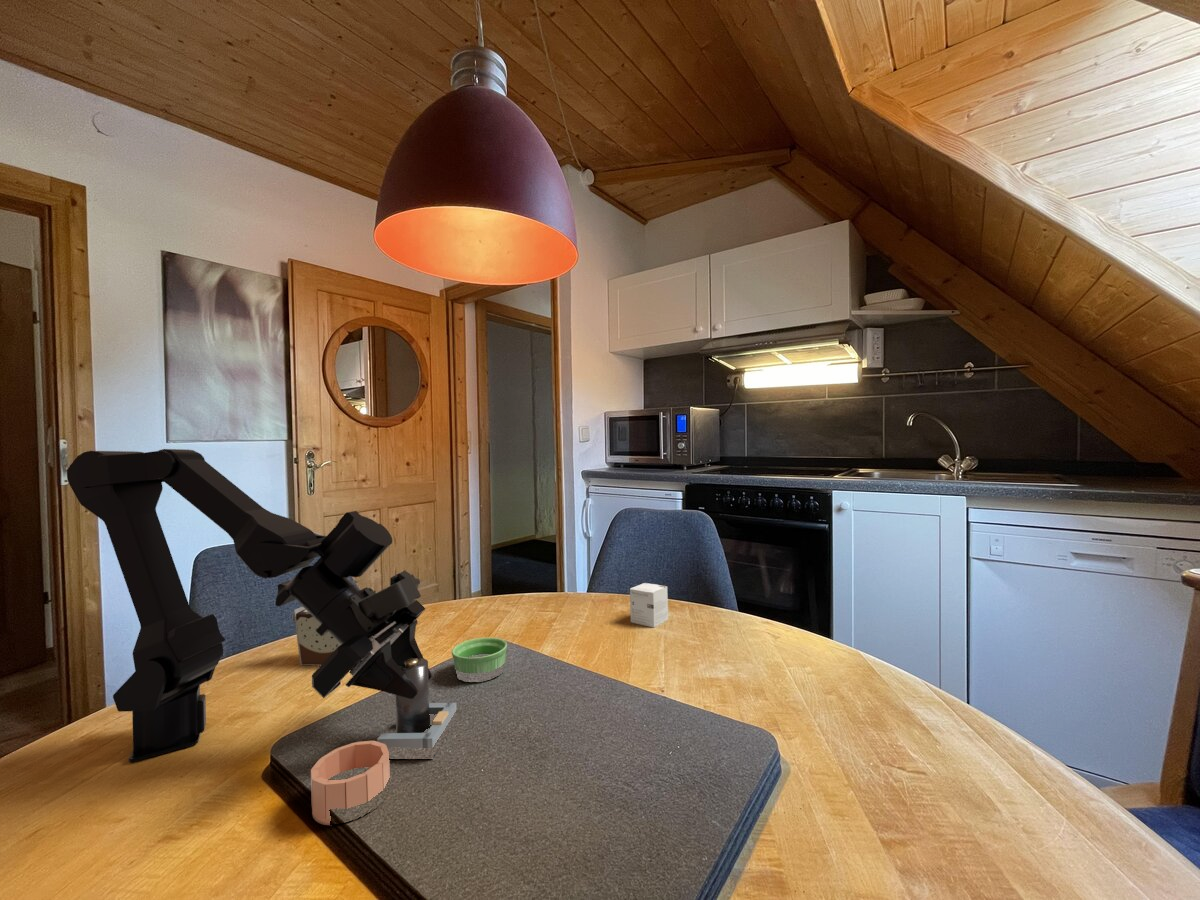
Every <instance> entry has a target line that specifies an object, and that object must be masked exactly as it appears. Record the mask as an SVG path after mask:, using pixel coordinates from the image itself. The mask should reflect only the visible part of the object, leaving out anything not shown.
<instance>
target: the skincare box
mask: <svg viewBox="0 0 1200 900" xmlns="http://www.w3.org/2000/svg"><path fill="white" fill-rule="evenodd" d="M668 592H669V591H668V586H666V585H660V584H657V583H648V582H643V583H641V584H638V585H636V586H633V587H631V588H629V607H630V608H629V609H630V613H629V614H630V623H632V624H637V625H641V626H646V627H650V628H657V627H658V626H660V625H661V624H663V623H665V622H667V621H668V620H669V612H668V611H669V605H668V604H669V603H668V602H669V601H668Z"/></svg>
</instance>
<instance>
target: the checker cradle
mask: <svg viewBox="0 0 1200 900" xmlns="http://www.w3.org/2000/svg"><path fill="white" fill-rule="evenodd" d="M456 710H458V709H457V702H429V714H434V715H435V714H437V715H436V717H435V718H434V720H433V721H432V726H430V729H429V730H428V731H427V733H395V732H393V733H392V732H391V733H390V732H388V733H387V732H386V733H385V732H384V733H381V734H380V735H379V737H377V738H376V739H377V740H376V741H377V742H380V743H383V744H385V745H386V746H387V747H390V748H391V747H401V748H402V747H403V748H404V747H412V748H413V747H415V748H416V747H417V748H421V747H422V748H433V747H434V745H435V743H436V742H437V740H438V739H439V737H440V736H441V734H442V733H443V731H444V730H445V728H446V726H447V725H448V723H449V722H450V720H451V718H452V717H453V715H454V713H455V712H456Z"/></svg>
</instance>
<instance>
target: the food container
mask: <svg viewBox="0 0 1200 900" xmlns="http://www.w3.org/2000/svg"><path fill="white" fill-rule="evenodd" d="M291 622H294V623H295V632H296V640H297V641H296V642H297V649H298V657H299V659H298V660H299V664H300V665H322V664H323V663H324V662H325V661H326V659H327V658H328V657H329V656H330V655H331V654H332V653H333V652H334V651H335V650H336V649H337V648H338V647H339V646H340V645H341V644H340V643H339V642H338V641H337V640H336V639H335V638H334V637H333V636H332V635H331V634H330V633H329V632H328V633H326V634H324V635H322V636H320V635H319V634H318V633H317V632H316V630H317V629H318V627H319V626H320V625H321V624H320V623H319V622H318V621H317V620H316V619H315V618H314V617H313V616H312V615H311V614H310V613H309V612H308V611H307V610H306V609H305V608H304V607H303V606H300V607H298V608H295V609H294V610H293V613H292V617H291Z"/></svg>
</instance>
